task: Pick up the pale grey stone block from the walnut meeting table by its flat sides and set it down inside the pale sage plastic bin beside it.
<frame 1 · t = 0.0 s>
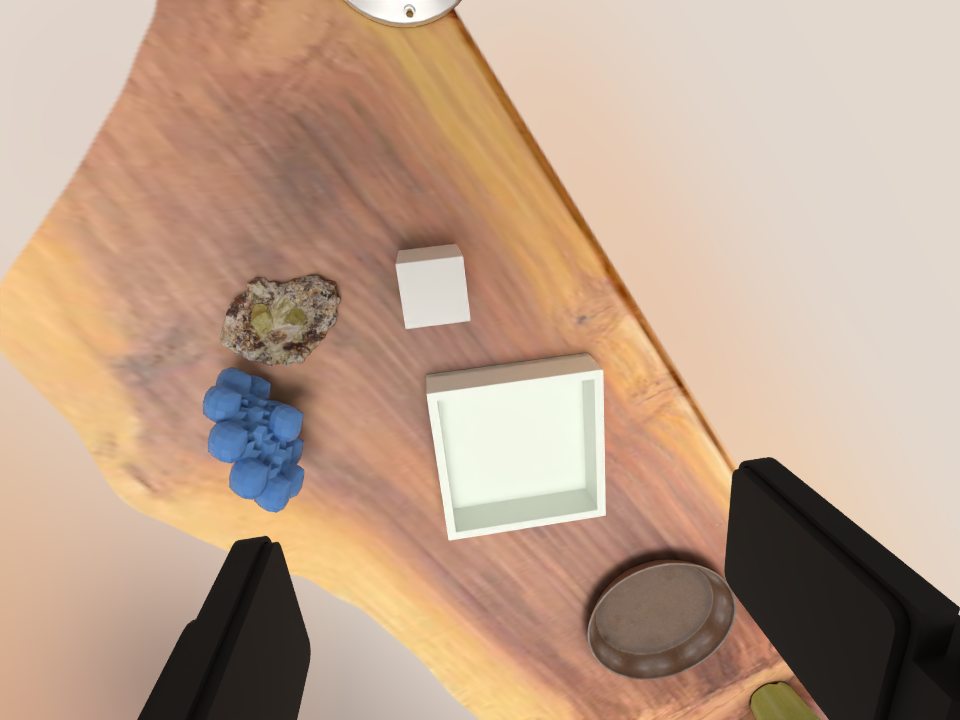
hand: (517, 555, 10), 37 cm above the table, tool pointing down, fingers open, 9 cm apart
sage bin: (513, 435, 51), on the table
stone block: (431, 275, 45), on the table
mineral rock: (288, 315, 45), on the table
plant pot: (769, 695, 70), on the table
blue knobby lump: (285, 401, 48), on the table
plant saucer: (651, 603, 62), on the table
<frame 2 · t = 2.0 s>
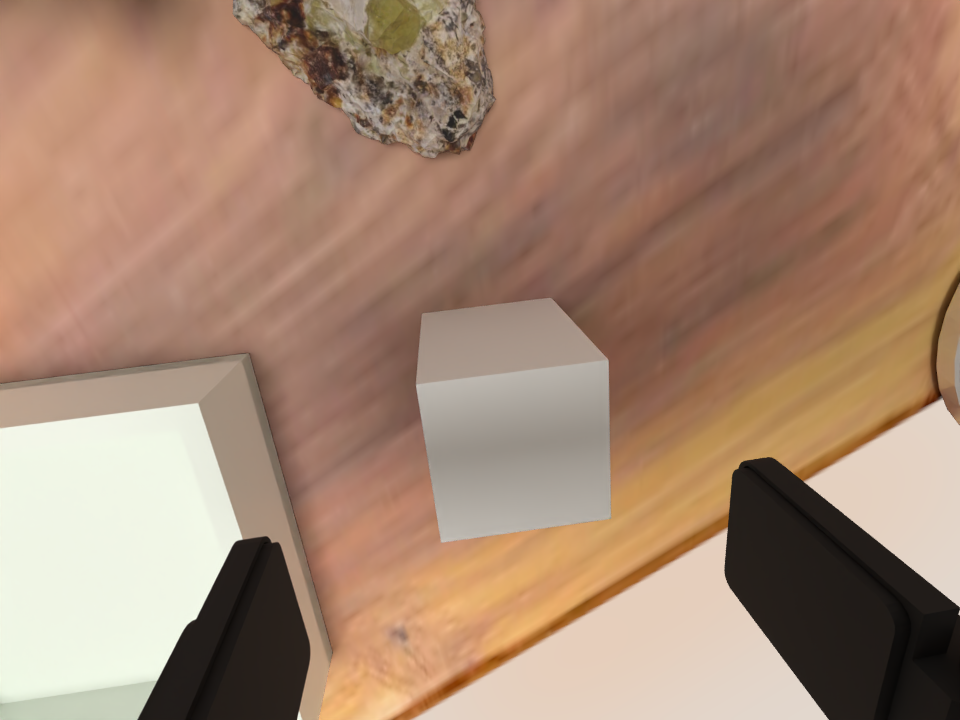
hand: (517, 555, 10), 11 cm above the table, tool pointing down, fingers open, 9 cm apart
sage bin: (111, 546, 22), on the table
stone block: (492, 365, 21), on the table
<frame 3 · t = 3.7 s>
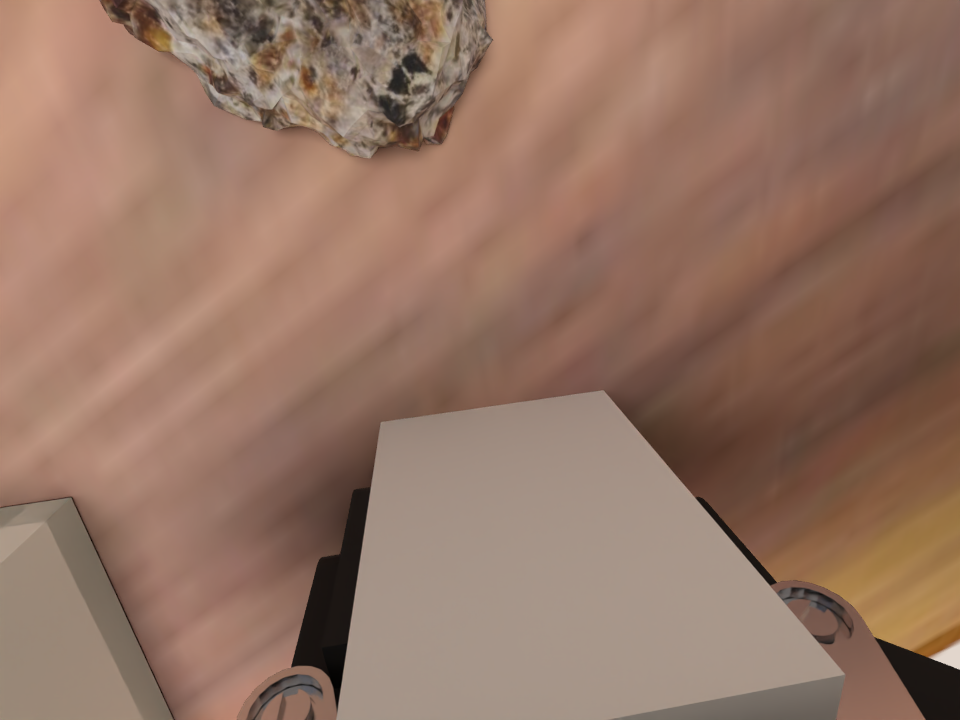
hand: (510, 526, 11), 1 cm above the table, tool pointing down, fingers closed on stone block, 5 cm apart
stone block: (503, 499, 12), on the table, touching gripper
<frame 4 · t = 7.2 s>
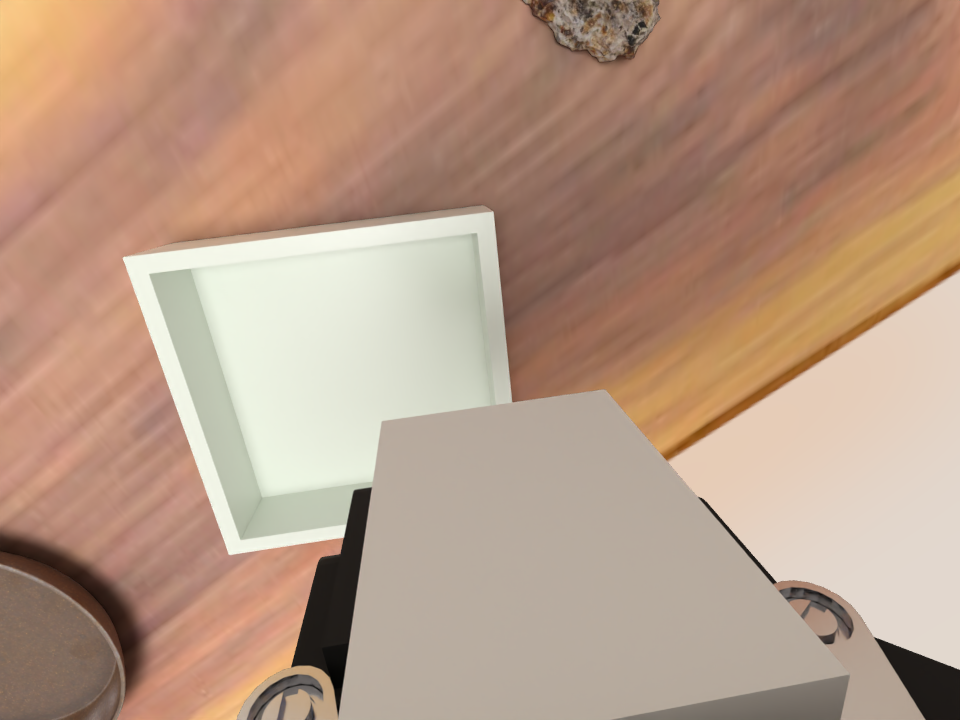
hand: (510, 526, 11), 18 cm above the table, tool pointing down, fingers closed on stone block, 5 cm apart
sage bin: (360, 366, 29), on the table
stone block: (504, 499, 12), point 17 cm above the table, touching gripper
plant saucer: (4, 632, 33), on the table
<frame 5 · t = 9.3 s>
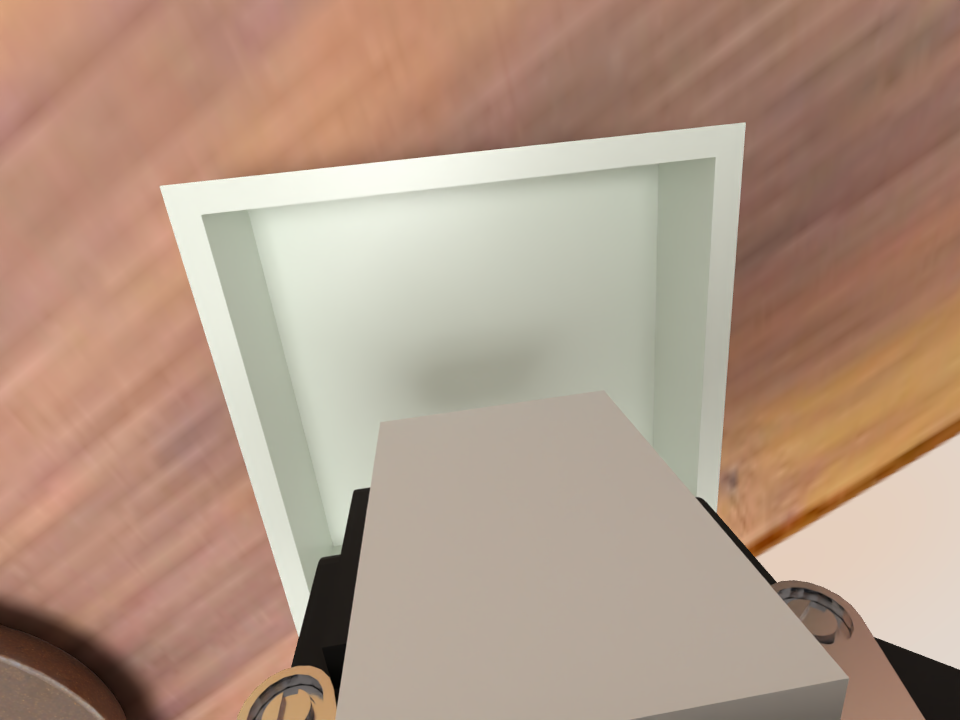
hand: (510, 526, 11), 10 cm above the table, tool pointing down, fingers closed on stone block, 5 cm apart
sage bin: (477, 365, 21), on the table
stone block: (503, 500, 12), point 9 cm above the table, touching gripper
when the fingers open (4 cm above the table, at t = 10.8 s): stone block drops 2 cm, resting on sage bin.
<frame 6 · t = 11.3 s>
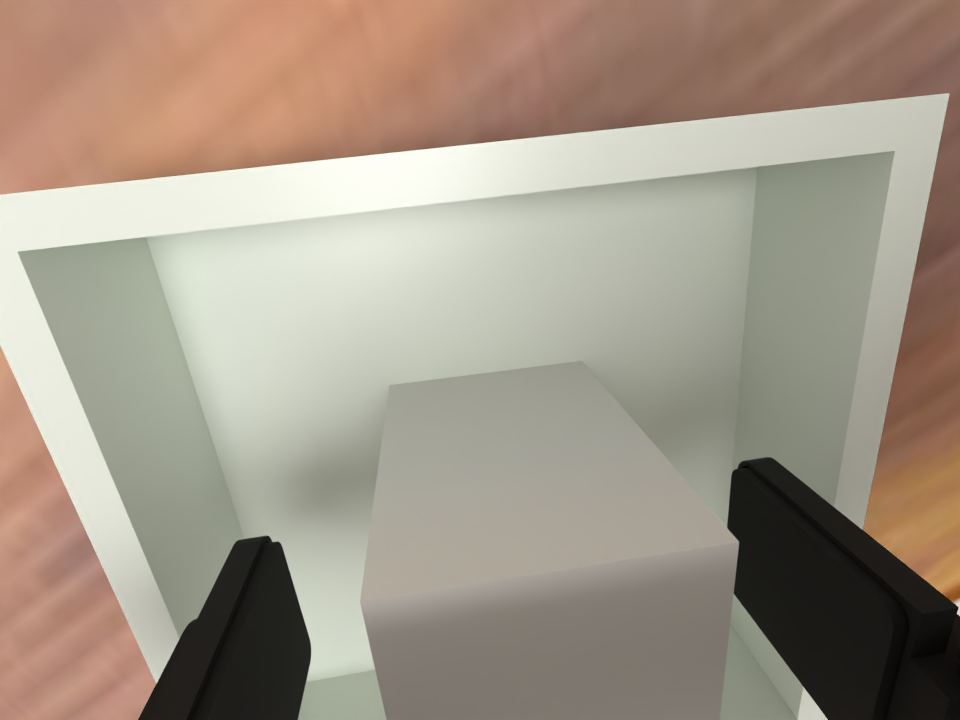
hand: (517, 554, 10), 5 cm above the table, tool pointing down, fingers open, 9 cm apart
sage bin: (488, 443, 15), on the table
stone block: (494, 457, 14), point 1 cm above the table, touching sage bin
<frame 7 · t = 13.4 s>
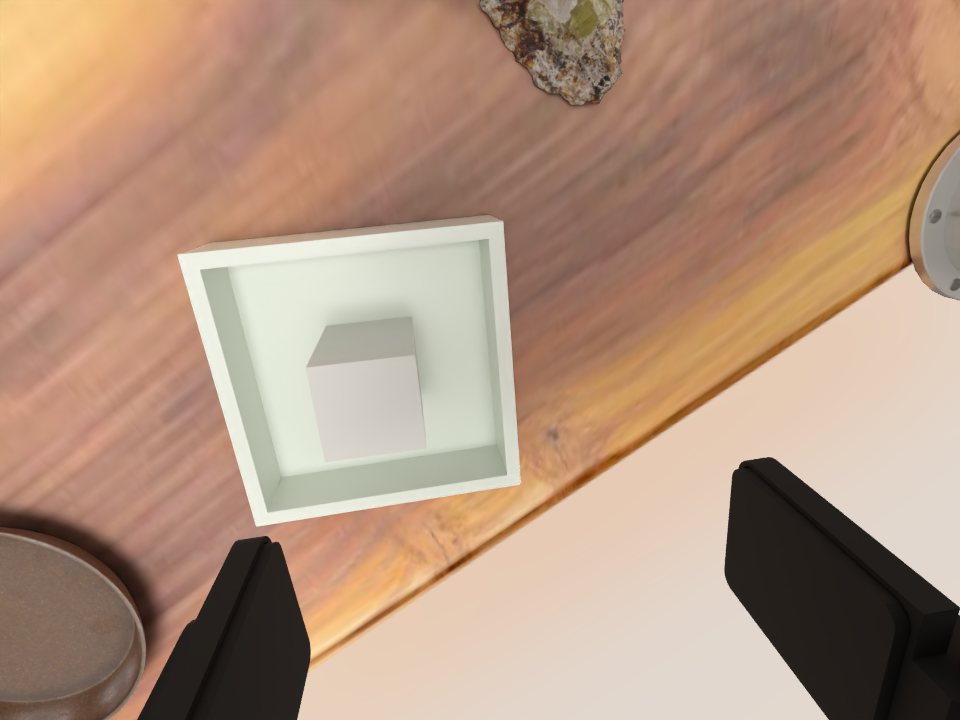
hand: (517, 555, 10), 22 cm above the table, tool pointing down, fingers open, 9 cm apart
sage bin: (375, 356, 32), on the table
stone block: (375, 360, 31), point 1 cm above the table, touching sage bin
mineral rock: (556, 5, 27), on the table
plant saucer: (23, 610, 35), on the table
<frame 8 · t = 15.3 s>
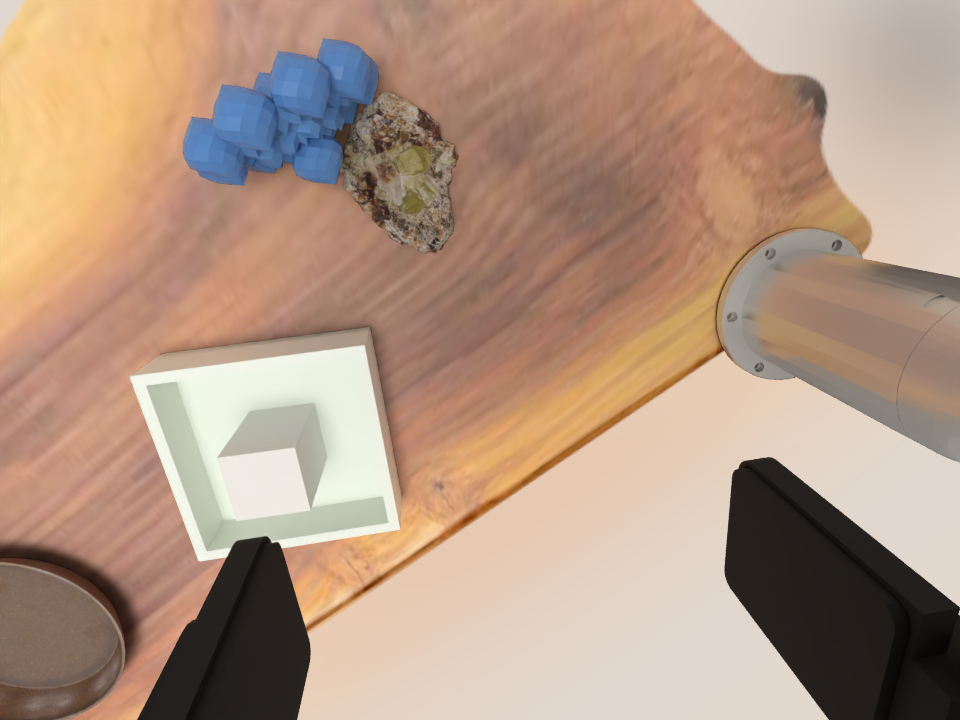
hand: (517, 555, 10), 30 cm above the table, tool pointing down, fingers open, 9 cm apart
sage bin: (291, 430, 42), on the table
stone block: (289, 435, 41), point 1 cm above the table, touching sage bin
mineral rock: (404, 180, 37), on the table
blue knobby lump: (317, 138, 35), on the table
plant saucer: (35, 618, 46), on the table
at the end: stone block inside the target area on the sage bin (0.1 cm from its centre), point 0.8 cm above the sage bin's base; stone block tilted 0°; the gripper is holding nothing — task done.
